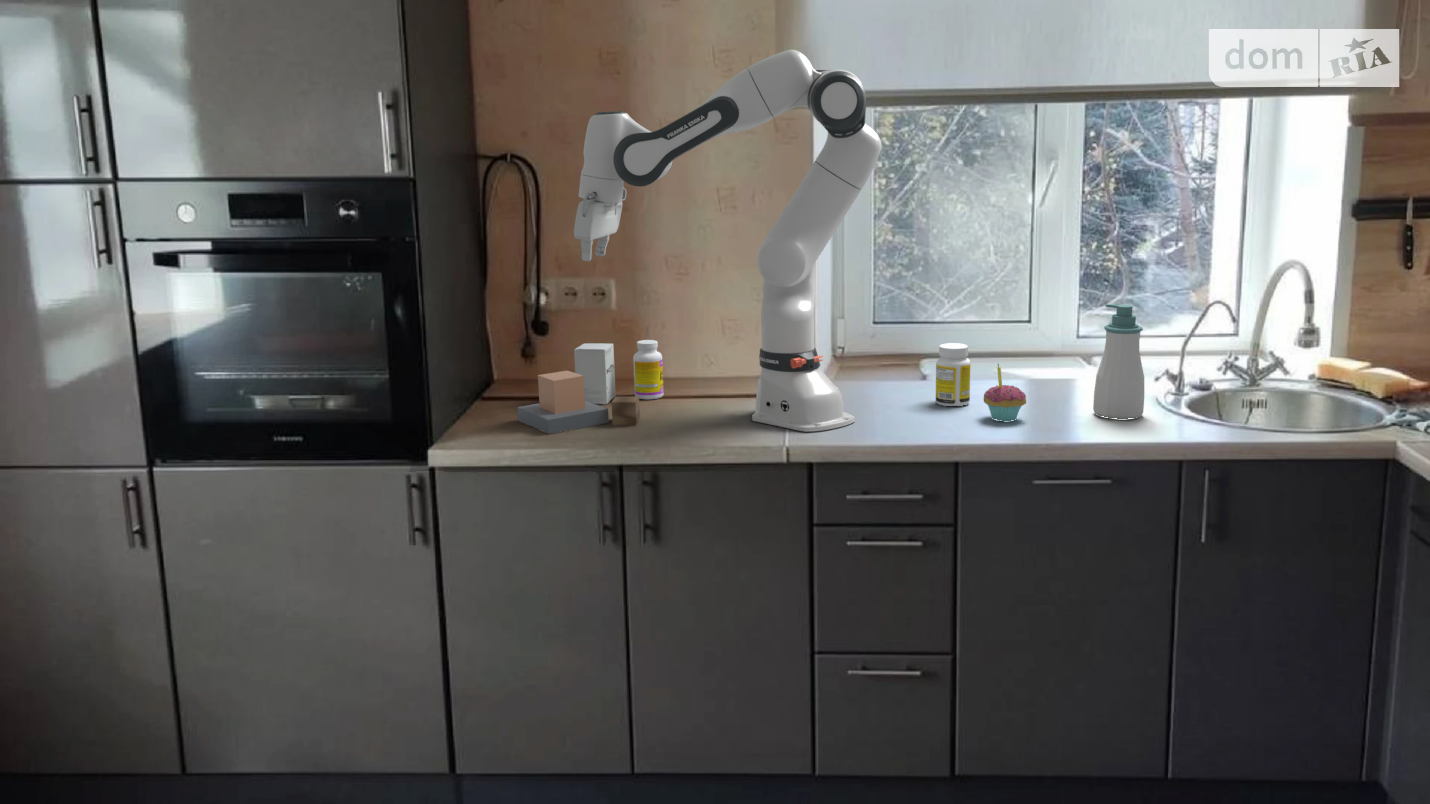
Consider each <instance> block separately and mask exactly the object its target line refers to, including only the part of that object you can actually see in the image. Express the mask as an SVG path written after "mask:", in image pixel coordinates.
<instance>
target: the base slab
mask: <svg viewBox="0 0 1430 804" xmlns="http://www.w3.org/2000/svg"><path fill="white" fill-rule="evenodd" d="M517 420H518V422H520V423H521V424H524V423H525V424H524V425H526V426H530V427H531V426H533V427H532V428H534V427H535V428H534V429H536V428H537V429H536V430H538V429H540V430H543V431H544V432H543V431H542V432H543V433H545V432H546V433H545V434H547V433H553V434H557V433H556V432H558V433H561V432H560V431H564V432H566V431H565V430H569V431H571V430H570V429H574V430H579V429H583V428H590V427H595V426H598V425H604V424H609V423H610V421H609V420H610V419H609V409H608V408H606V407H605V406H601V405H600V404H594V403H591V402H588V401H585V409H579V410H574V411H568V412H563V413H558V414H555V413H552V412H550V411H547V410H545V409H542V408H540V402H539V403H533V404H528V405H523V406H517ZM540 430H539V431H540Z"/></svg>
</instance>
